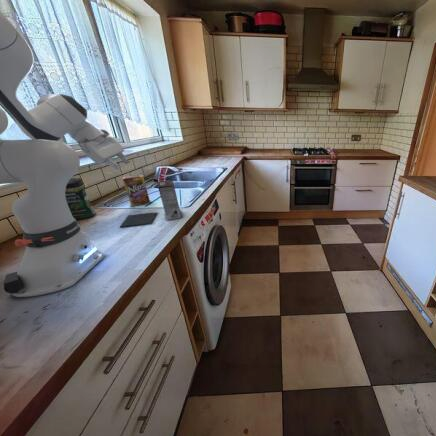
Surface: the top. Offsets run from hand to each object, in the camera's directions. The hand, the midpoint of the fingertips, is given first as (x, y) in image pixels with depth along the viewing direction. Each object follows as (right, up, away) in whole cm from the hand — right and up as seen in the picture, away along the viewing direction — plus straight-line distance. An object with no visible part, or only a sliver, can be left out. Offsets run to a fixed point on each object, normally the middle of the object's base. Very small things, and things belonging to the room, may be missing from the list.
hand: (123, 165), depth 95 cm
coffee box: (+13, -21, +14) cm, 29 cm away
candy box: (-11, -15, +27) cm, 33 cm away
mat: (0, -23, +10) cm, 25 cm away
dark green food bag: (-29, -22, +13) cm, 38 cm away
